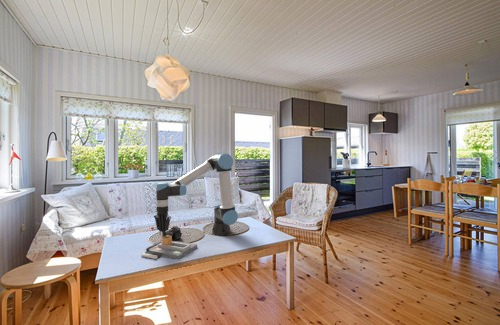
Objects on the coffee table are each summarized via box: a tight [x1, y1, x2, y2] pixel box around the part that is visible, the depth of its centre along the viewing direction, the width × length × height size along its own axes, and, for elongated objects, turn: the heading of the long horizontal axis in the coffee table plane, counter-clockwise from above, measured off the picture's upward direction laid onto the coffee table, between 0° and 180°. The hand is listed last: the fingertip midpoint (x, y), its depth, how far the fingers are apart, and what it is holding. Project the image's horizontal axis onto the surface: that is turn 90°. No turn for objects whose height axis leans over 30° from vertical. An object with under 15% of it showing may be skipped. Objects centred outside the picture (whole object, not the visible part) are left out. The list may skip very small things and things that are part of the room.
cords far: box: [140, 251, 162, 260], centre depth 148 cm, size 12×5×2 cm, turn 69°
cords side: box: [145, 241, 162, 252], centre depth 162 cm, size 14×5×2 cm, turn 159°
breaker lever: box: [161, 235, 172, 246], centre depth 160 cm, size 4×4×7 cm
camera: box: [166, 225, 183, 241], centre depth 178 cm, size 13×10×10 cm
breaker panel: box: [149, 240, 198, 260], centre depth 158 cm, size 20×22×4 cm
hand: (162, 240), depth 161 cm, fingers closed
